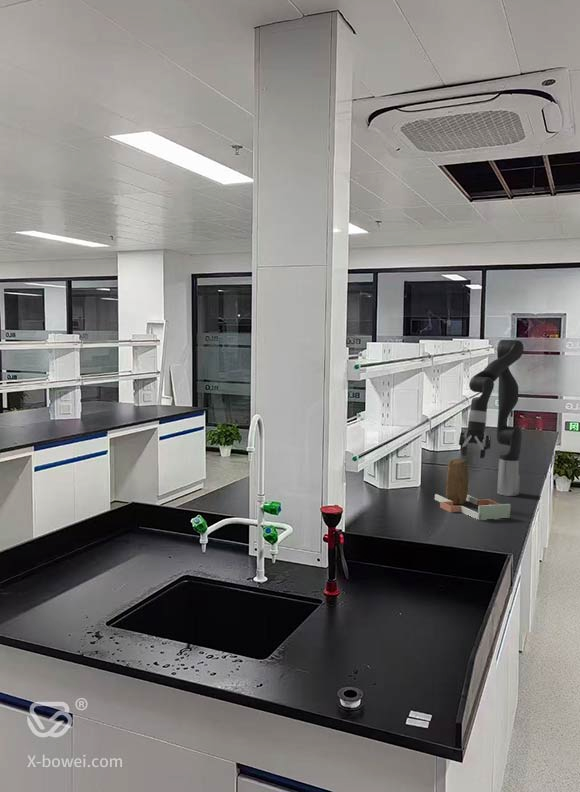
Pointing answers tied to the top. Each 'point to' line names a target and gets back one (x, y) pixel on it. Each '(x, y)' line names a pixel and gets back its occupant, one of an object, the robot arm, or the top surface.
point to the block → (457, 481)
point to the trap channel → (485, 508)
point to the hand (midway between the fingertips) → (472, 457)
